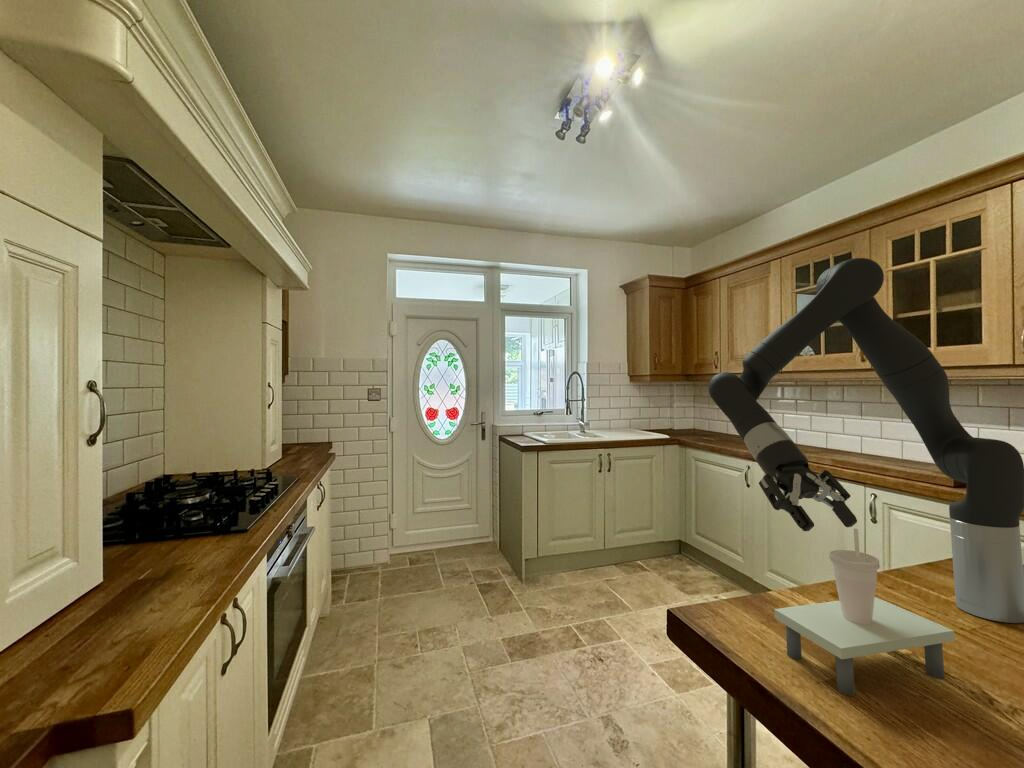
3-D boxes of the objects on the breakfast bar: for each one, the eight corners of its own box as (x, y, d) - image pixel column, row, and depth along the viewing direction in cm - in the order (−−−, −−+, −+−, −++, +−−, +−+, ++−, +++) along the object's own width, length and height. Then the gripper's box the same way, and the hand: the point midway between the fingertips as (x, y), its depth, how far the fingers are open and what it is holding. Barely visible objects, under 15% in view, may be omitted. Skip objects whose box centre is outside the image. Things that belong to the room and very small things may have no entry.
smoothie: (893, 630, 65) (888, 536, 66) (845, 627, 66) (840, 534, 67) (867, 609, 72) (862, 523, 72) (823, 607, 73) (819, 522, 73)
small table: (875, 636, 76) (873, 596, 77) (957, 679, 64) (954, 630, 65) (776, 652, 72) (774, 609, 73) (844, 700, 61) (841, 648, 61)
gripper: (751, 440, 81) (808, 518, 69) (816, 436, 84) (881, 511, 72) (733, 465, 86) (783, 542, 74) (794, 461, 89) (852, 534, 77)
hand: (831, 526), depth 73 cm, fingers open, 8 cm apart
